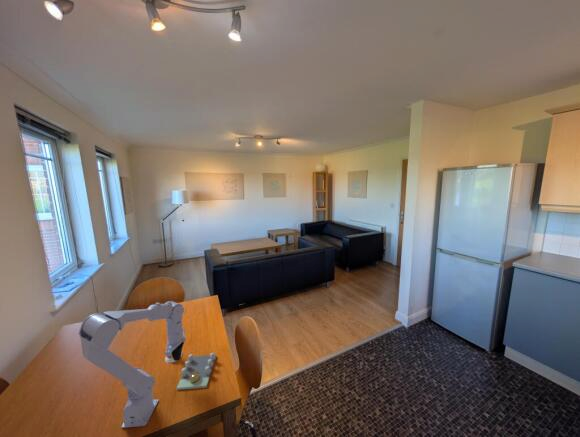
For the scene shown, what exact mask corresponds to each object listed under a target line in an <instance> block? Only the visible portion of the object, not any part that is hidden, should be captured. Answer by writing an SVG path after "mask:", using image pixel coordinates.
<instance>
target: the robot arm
mask: <svg viewBox="0 0 580 437" xmlns="http://www.w3.org/2000/svg"><path fill="white" fill-rule="evenodd" d="M184 312H185V307H184V306H183V304H181V303H178V302H175V301H171V300H168V301H166V302H165V303H160V302H155V304H150V305H149V306H148V307H147V308H141V309H140V308H139V309H125V310H107V311H103V312H102V313H100V312H96V313H93V314H91V315H89V316H87V317H86V318H84V320H83V321H82V323H81V326H80V328H79V331H78V335H79V338H80V342H81V350H82V351H81V352H82V353H81V354H82V356H83V358H84V359H86V361H88V362H90V363H91V364H93V365H94V366H96V367H98V368H99V369H101V370H103V371H105V372H106V373H108V374H110V375H111V376H113V377H115V378H116V379H118V380H119V381H120V382H122V385H123V386H124V388H127V401H126V405H125V407H124V408H123V410H122V419H123V423H122V425H121V428H122V429H125V428H134V427H135V428H136V427H145V426H146V425H147V424H148V422H149V420H150V418H151V416H152V414H153V412H154V410H155V408H156V407H157V405H158V403H159V399H156V398H155V399H154V395H153V394H154V393H153V388H154V386H155V382H156V378H155V376H153V375H150V374H149V373H148V372H145V371H144V370H142V369H141V368H140V367H134V366H133V365H132V364H129V363H128V362H127V361H125V360H124V359H122V358H121V357H120V356H118V355H117V354H115V353H114V352H113V351H111V350H110V349H109V348H110V346H111V344H112V343H113V341H114V339H116V338H115V337H116V336H117V334H118V332H119V331H122V330H123V329H124V327H125V325H126V324H127V323H131V322H137V321H141V320H146V319H147V320H148V321H149V322H153V321H160V320H165V323H166V334H167V335H166V336H167V341H166V342H167V343H166V349H165V352H164V353H165V354H164V355H165V357H168V358H170V357H172V358H173V359H174V361H176V362H177V360H178V361H180V359H182V357H181V352H182V350H183V347H184V344H185V342H186V340H187V337H185V333H186V330H185V329H186V328H183V315H184ZM182 353H183V352H182ZM171 355H172V356H171Z"/></svg>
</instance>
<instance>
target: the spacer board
mask: <svg viewBox="0 0 580 437" xmlns="http://www.w3.org/2000/svg"><path fill="white" fill-rule="evenodd" d="M187 359H188V360H186V361H185V362H184V366H185V367H183V368H182V369H181V378H180V380H179V382H178V383H177V386H176V391H181V390H193V389H205V388H208V384H209V380H210V377H211V375H212V371H213V368H214V365H215V362H216V359H217V354H215V352H211V353H209V355H196V356H195V355H194V354H193V353H190V354H189V355H188V358H187ZM195 371H198V372H199V374H200V379H199V381H198V382H196V383H190V379H189V376H190V374H191V373H193V372H195Z"/></svg>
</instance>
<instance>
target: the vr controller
mask: <svg viewBox="0 0 580 437" xmlns="http://www.w3.org/2000/svg"><path fill="white" fill-rule="evenodd" d="M170 357H172V358H170ZM170 357H166V356H165V358H164V361H165V363H167V364H173V363H175V362H177V361H178V362H179V360H177V361H174V359H173V356H172V355H171V356H170ZM182 357H183V352H181V358H182Z"/></svg>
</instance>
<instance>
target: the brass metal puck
mask: <svg viewBox="0 0 580 437" xmlns="http://www.w3.org/2000/svg"><path fill="white" fill-rule="evenodd" d="M189 379H190V383H196V382H198V381H199V379H200V374H199V372H198V371H195V372H193V373H191V374H190V376H189Z"/></svg>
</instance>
